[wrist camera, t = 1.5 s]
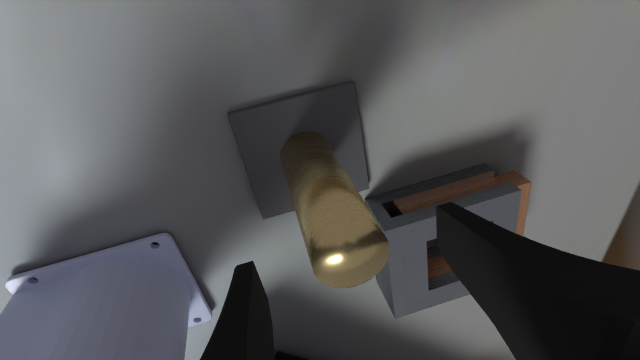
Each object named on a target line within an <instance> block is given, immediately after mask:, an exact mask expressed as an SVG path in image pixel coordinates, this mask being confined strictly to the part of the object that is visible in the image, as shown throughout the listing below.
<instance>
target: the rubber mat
mask: <svg viewBox="0 0 640 360" xmlns="http://www.w3.org/2000/svg"><path fill="white" fill-rule="evenodd" d="M228 117H229V120H230V123H231V126H232V129H233V132H234V135H235V138H236V141H237V144H238V147H239V150H240V152H241V155H242V158H243V161H244V164H245V167H246V170H247V173H248V176H249V179H250V182H251V185H252V188H253V191H254V193H255V196H256V199H257V202H258V205H259V208H260V211H261V214H262V217H263V219H266V218H269V217H273V216H276V215H280V214H283V213H287V212H290V211H294V210H295V208H294V205H293V201H292V198H291V195H290V191H289V188H288V185H287V181H286V178H285V175H284V171H283V168H282V165H281V161H280V153H281V149H282V147H283V145H284V144H285V142H286V141H287V140H288V139H289V138H290V137H292V136H293V135H295V134H297V133H300V132H315V133H318V134H320V135H321V136H323V137H324V138H325V139H326V140H327V142H328V143H329V145H330V147H331V148H332V150H333V152H334V153H335V155H336V156H337V158H338V160H339V161H340V163H341V165H342V166H343V168H344V169H345V171H346V173H347V174H348V176H349V178H350V179H351V181H352V183H353V184H354V186H355V187H356V189H357V191H358V192H359V191H362V190H366V189H369V183H368V176H367V168H366V161H365V154H364V147H363V139H362V132H361V125H360V117H359V110H358V103H357V96H356V88H355V82H354V81H349V82H345V83H341V84H337V85H334V86H330V87H326V88H322V89H318V90H314V91H310V92H306V93H303V94H299V95H295V96H291V97H287V98H283V99H279V100H275V101H272V102H268V103H264V104H260V105H256V106H252V107H248V108H245V109H241V110H237V111H233V112H229V113H228Z"/></svg>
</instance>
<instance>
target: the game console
mask: <svg viewBox="0 0 640 360" xmlns="http://www.w3.org/2000/svg"><path fill="white" fill-rule="evenodd" d="M274 358H275V360H307V359H304V358H300V357H297V356H293V355H290V354H287V353H283V352H280V351H278V352H277V353H276V354H275V355H274Z"/></svg>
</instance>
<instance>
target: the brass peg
mask: <svg viewBox="0 0 640 360" xmlns="http://www.w3.org/2000/svg"><path fill="white" fill-rule="evenodd" d="M280 161H281V165H282V168H283V171H284V175H285V178H286V181H287V185H288V188H289V191H290V195H291V198H292V201H293V205H294V208H295V211H296V215H297V218H298V222H299V225H300V228H301V232H302V235H303V238H304V242H305V245H306V248H307V252H308V255H309V258H310V262H311V265H312V268H313V271H314V274H315V276H316V277H317V278H318V280H319V281H321V282H322V283H324V284H325V285H328V286H330V287H335V288H349V287H354V286H357V285H360V284H363V283H365V282H367V281H368V280H370V279H372V278H373V277H374V276H375V275H377V274H378V273H379V272H380V271H381V270H382V268H383V267H384V265H385V264H386V262H387V260H388V257H389V251H390V247H389V242H388V240H387V238H386V236H385V235H384V233H383V231H382V230H381V228H380V226H379V225H378V223H377V222H376V220H375V218H374V217H373V215H372V213H371V212H370V210H369V209H368V207H367V205H366V204H365V202H364V200H363V199H362V197H361V196H360V194H359V192H358V191H357V189H356V187H355V186H354V184H353V183H352V181H351V179H350V178H349V176H348V174H347V173H346V171H345V169H344V168H343V166H342V165H341V163H340V161H339V160H338V158H337V156H336V155H335V153H334V152H333V150H332V148H331V147H330V145H329V143H328V142H327V140H326V139H325V138H324V137H323V136H321V135H320V134H318V133H315V132H300V133H297V134H295V135H293V136H292V137H290V138H289V139H288V140H287V141H286V142H285V144H284V145H283V147H282V149H281V153H280Z"/></svg>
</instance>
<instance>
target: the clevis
mask: <svg viewBox="0 0 640 360" xmlns="http://www.w3.org/2000/svg"><path fill="white" fill-rule="evenodd" d="M530 186H531V182H530V181H529V180H527V179H526V178H524V177H523V176H521V175H520V174H518V173H517V172H515V171H511V172H508V173H504V174H501V175H498V176H494V170H493V169H492V168H491V167H489V166H488V165H486V164H483V165H479V166H476V167H472V168H469V169H465V170H462V171H459V172H455V173H452V174H448V175H445V176H442V177H438V178H435V179H431V180H428V181H425V182H421V183H418V184H414V185H411V186H407V187H404V188H401V189H397V190H394V191H390V192H387V193H384V194H380V195H377V196H373V197H370V198H367V199H365V204H366V205H367V207H368V209H369V210H370V212H371V213H372V215H373V217H374V218H375V220H376V222H377V223H378V225H379V226H380V228H381V230H382V231H383V233H384V235H385V236H386V238H387V240H388V242H389V247H390V251H389V257H388V260H387V262H386V264H385V265H384V267H383V268H382V270H381V271H380V272H379V273H378V274H377V275H376V279H377V283H378V285H379V287H380V289H381V291H382V293H383V295H384V297H385V299H386V301H387V303H388V305H389V307H390V309H391V311H392V313H393V315H394V317H395V319H396V318H399V317H402V316H405V315H408V314H411V313H414V312H417V311H420V310H423V309H426V308H429V307H433V306H436V305H439V304H442V303H445V302H448V301H451V300H454V299H457V298H460V297H463V296H466V295H469V294H470V293H469V291H468V290H467V289H466V288H465V286H464V285H463V284H462V283H461V281H460V280H459V279H458V278H457V276H456V275H455V274H454V272H453V271H452V270H451V268H450V267H449V265H448V264H447V262H446V261H445V259H444V257H443V256H442V254H441V252H440V250H439V249H438V247H437V246H436V247H433V248H429V249H427V241H429V240H433V239H436V238H437V233H436V206H438V205H441V204H444V203H448V202H453V203H455V204H457V205H459V206H461V207H463V208H465V209H467V210H469V211H471V212H472V213H474V214H476V215H478V216H480V217H482V218H484V219H486V220H488V221H490V222H492V223H494V224H497V225H499V226H501V227H503V228H505V229H507V230H509V231H512V232H514V233H516V234H519V235H521V236H523V235H524V228H525V221H526V214H527V207H528V200H529V193H530Z"/></svg>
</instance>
